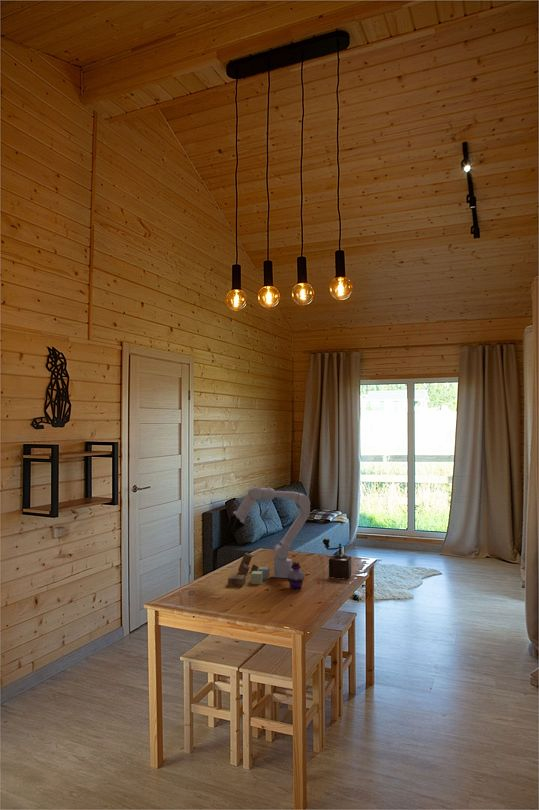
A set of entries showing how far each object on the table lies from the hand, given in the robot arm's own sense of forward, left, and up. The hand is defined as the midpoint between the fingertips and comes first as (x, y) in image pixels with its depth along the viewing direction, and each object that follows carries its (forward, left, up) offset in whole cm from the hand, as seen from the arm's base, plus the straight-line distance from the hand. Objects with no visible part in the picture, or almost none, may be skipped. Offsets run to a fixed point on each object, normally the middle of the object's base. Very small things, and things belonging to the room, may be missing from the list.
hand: (230, 530), depth 275 cm
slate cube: (-17, -3, -24) cm, 29 cm away
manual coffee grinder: (-53, -14, -24) cm, 60 cm away
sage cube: (-15, +6, -24) cm, 29 cm away
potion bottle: (-35, +12, -24) cm, 44 cm away
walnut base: (-6, +11, -24) cm, 27 cm away
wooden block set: (-7, -8, -24) cm, 26 cm away
